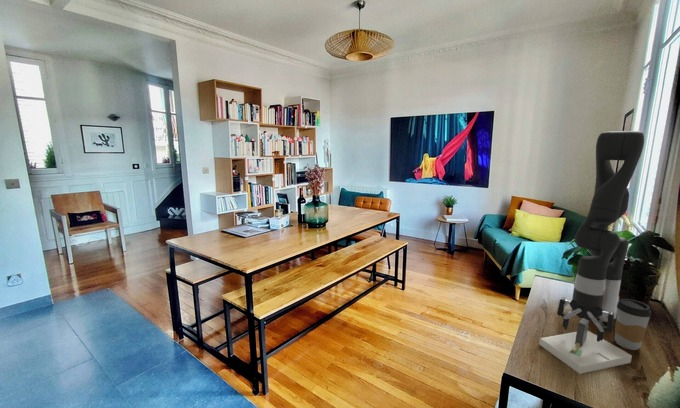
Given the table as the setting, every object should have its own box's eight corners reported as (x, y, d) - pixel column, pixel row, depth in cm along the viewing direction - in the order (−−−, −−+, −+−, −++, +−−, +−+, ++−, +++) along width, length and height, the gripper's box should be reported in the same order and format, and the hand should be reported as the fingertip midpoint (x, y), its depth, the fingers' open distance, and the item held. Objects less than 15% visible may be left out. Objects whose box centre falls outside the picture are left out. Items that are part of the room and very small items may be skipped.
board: (585, 336, 108) (586, 329, 108) (630, 362, 95) (632, 355, 94) (539, 344, 104) (540, 337, 103) (579, 373, 90) (581, 365, 90)
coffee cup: (635, 339, 106) (642, 300, 103) (650, 354, 98) (658, 312, 96) (606, 335, 109) (612, 296, 106) (618, 349, 101) (625, 308, 98)
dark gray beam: (586, 339, 102) (589, 320, 101) (577, 353, 95) (580, 333, 94) (579, 336, 104) (582, 317, 102) (570, 350, 97) (573, 330, 95)
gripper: (620, 293, 95) (612, 339, 98) (565, 278, 105) (559, 321, 108) (616, 301, 90) (607, 350, 93) (559, 285, 100) (553, 329, 103)
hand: (581, 334), depth 101 cm, fingers open, 8 cm apart
